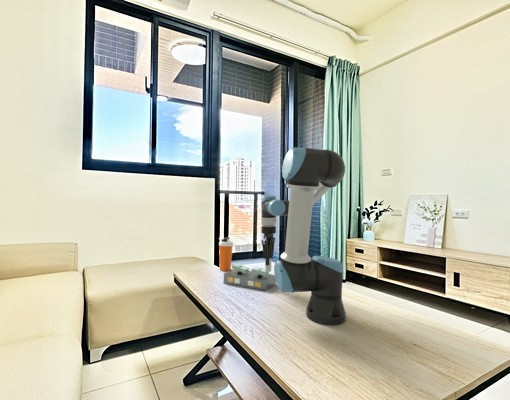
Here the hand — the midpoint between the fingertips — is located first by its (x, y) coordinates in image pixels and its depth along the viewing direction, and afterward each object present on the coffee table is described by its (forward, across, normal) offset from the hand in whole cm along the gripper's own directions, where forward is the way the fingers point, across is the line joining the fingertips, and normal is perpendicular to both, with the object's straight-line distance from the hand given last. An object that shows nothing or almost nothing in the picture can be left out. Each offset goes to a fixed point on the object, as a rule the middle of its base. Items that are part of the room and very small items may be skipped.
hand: (268, 270), depth 144 cm
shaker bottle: (+8, +18, +38) cm, 42 cm away
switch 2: (+1, 0, +5) cm, 5 cm away
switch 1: (+1, 0, +16) cm, 17 cm away
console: (+8, 0, +11) cm, 13 cm away
